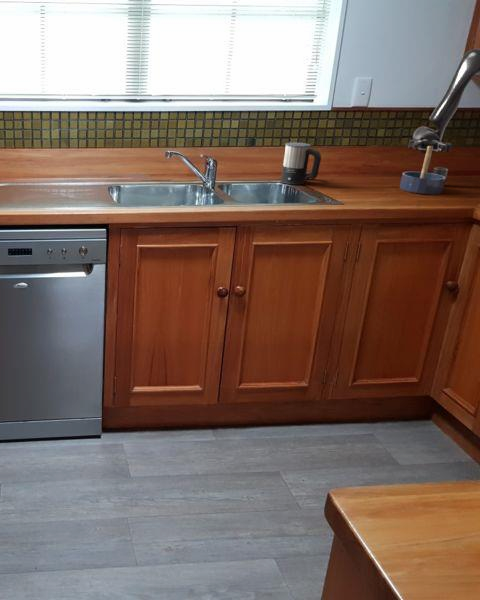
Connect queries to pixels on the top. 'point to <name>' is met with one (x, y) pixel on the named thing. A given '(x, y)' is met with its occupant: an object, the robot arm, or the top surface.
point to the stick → (426, 161)
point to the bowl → (422, 183)
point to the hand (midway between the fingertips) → (429, 148)
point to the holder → (441, 171)
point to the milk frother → (299, 163)
